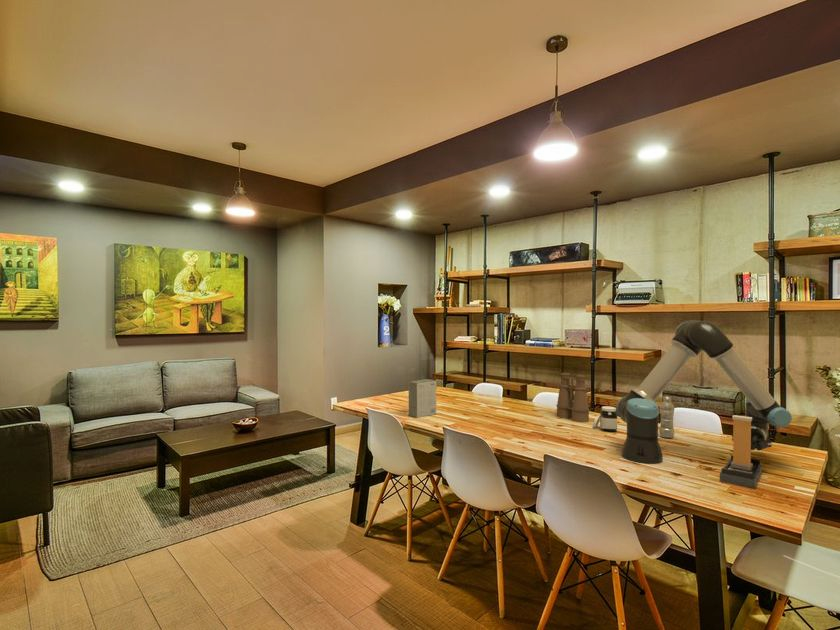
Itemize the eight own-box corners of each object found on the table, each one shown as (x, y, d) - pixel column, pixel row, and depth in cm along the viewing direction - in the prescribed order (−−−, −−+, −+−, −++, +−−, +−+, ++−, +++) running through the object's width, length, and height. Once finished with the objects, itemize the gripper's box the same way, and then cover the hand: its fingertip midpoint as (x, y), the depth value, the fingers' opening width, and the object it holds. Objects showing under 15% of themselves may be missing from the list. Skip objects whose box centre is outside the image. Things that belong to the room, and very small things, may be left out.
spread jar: (619, 433, 228) (619, 409, 228) (595, 431, 230) (595, 408, 230) (613, 427, 240) (613, 405, 240) (590, 426, 242) (590, 404, 242)
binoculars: (552, 416, 266) (552, 373, 266) (564, 414, 271) (564, 372, 271) (581, 423, 248) (582, 377, 248) (593, 421, 253) (594, 376, 254)
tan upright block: (750, 471, 163) (751, 419, 163) (730, 467, 167) (731, 416, 167) (752, 467, 167) (753, 417, 167) (733, 464, 171) (733, 414, 171)
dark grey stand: (754, 488, 155) (754, 475, 155) (719, 481, 161) (719, 468, 161) (761, 472, 171) (761, 460, 171) (729, 466, 178) (730, 454, 178)
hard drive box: (428, 412, 272) (428, 378, 272) (436, 414, 266) (437, 380, 266) (407, 415, 262) (408, 381, 262) (416, 418, 256) (416, 382, 256)
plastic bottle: (657, 437, 220) (657, 396, 220) (661, 435, 225) (662, 394, 225) (671, 440, 216) (672, 398, 216) (676, 437, 220) (676, 396, 220)
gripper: (773, 449, 180) (768, 463, 163) (734, 443, 189) (724, 455, 171) (774, 430, 180) (768, 442, 163) (734, 425, 189) (725, 435, 171)
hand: (746, 449), depth 167 cm, fingers closed
